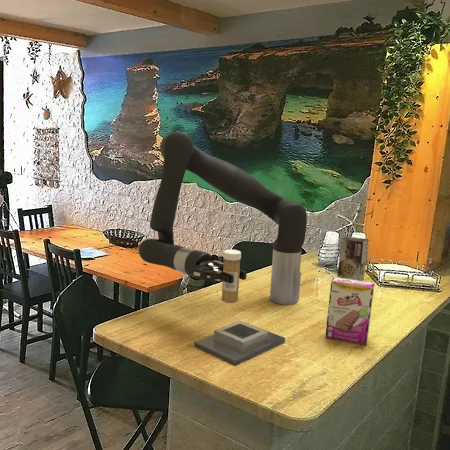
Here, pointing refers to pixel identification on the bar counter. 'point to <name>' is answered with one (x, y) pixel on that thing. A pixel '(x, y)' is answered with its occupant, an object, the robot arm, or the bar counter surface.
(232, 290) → the sprinkles bottle
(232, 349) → the collar socket
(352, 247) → the cookie box
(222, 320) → the bar counter surface
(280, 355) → the bar counter surface
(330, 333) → the candy bar box
